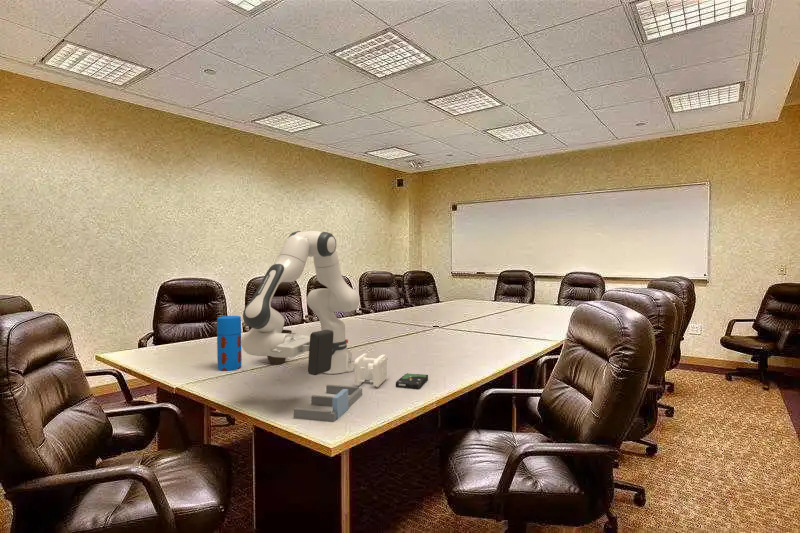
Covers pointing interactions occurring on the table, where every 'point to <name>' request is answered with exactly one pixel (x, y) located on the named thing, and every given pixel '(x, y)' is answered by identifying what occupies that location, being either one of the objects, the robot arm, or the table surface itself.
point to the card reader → (320, 352)
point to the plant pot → (277, 359)
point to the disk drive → (412, 381)
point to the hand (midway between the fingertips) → (318, 347)
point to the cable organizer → (370, 369)
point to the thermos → (229, 343)
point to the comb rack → (330, 403)
